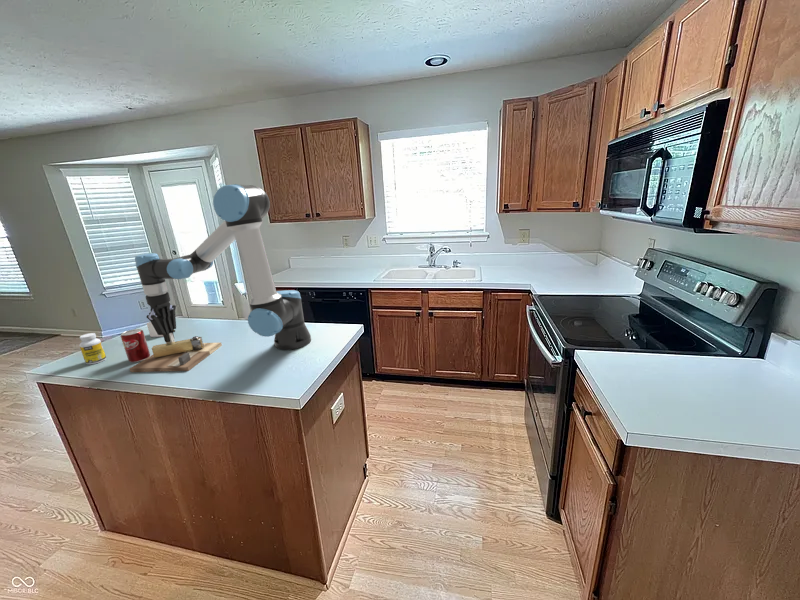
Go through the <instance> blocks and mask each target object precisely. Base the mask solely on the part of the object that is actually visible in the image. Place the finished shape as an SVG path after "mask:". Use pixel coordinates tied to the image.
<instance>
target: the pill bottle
mask: <svg viewBox="0 0 800 600" xmlns="http://www.w3.org/2000/svg"><path fill="white" fill-rule="evenodd" d="M79 339H80V341H81V342H80V343H79V348H80V351H81V353H82V356H83V359H84V362H85V364H86V365H95V364H99V363H103V362H104V361H106V359H107V356H106V353H105V349H104V347H103V343H102V341H101V339H100V338H97V334H96V333H95V332H91V333H84V334H82V335H80V336H79Z"/></svg>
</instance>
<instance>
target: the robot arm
mask: <svg viewBox="0 0 800 600" xmlns="http://www.w3.org/2000/svg"><path fill="white" fill-rule="evenodd" d="M212 206H213V210H214V211H215V214H216V215H217V216H218V217H219V218H220V219H222V220H223V221H222V222H221V223H220V225H219V226H218V227H216V229H215V230H214V231H213V232H212V233H210V234H209V236H207V237H206V238H205V240H203V241H202V243H201V244H200V245H199V246H197V247H196V248H195V249H194V251H193V252H192V253H190V254H186V255H182V256H179V257H174V258H164V259H163V258H160V257H159V254H157V253H155V252H153V253H143V254H137V255H136V256H135V257H134V262H135V268H136V269H137V273H138V277H139V279H140V283H141V285H142V288H143V293H144V295H145V301H146V303H147V305H148V306H150V307H149V308H150V312H151V313H150V312H149V313H150V315H149V314H147V315H146V319H148V320H149V322H151V323H152V325H153V327H154V329H155V330H156V332H157V334H158V335H163V336H162V337H163V339H164V340H163V341H164V342H165V344H166V343H171V342H176V341H175V335H174V333H175V332H176V329H177V321H176V320H177V319H176V307H177V306H176V305H174V304H173V305H172V304H171V303H170V302H171V297H170V293H169V292H168V291H169V289H168V285H167V283H166V280H184V279H185V280H186V279H188V278H190V277H191V276H192V275H193V274H197V273H199V272H203V271H206V270H209V269H210V268H212V266H214V265H213V264H214V261H215V259H217V258H218V257H219V256H220V255H221V254H222V253H223V252H224V251H225V250H227V248H229V247H230V246H231V244H233V243H234V242H236V246H237V250H238V252H239V255H240V259H241V263H242V266H243V269H244V273H245V276H246V281H247V284H248V287H249V291H250V294H251V298H250V301H249V306H250V307H249V308H250V310H251V311H250V312H249V313H248V316H247V323H248V327H250V329H251V330H252V331H253V332H254V333H255V334H258V335H259V336H261V337H273V336H274V337H273V338H274V340H273V344H274V347H275V349H277V350H282V351H283V350H284V351H287V350H289V351H290V350H295V349H300V348H302V347H305V346H306V345H308V344H309V343H310V342H311V341H312V336H311V333H310V331H309V329H308V328H307V325H306V324H305V318H304V310H303V303H302V297H301V293H300V292H299V291H298V290H294V289H293V290H292V289H291V290H289V289H288V290H287V289H285V290H277V289H276V285H275V282H274V278H273V274H272V270H271V267H270V263H269V260H268V255H267V252H266V249H265V247H266V246H265V244H264V243H265V242H264V240H263V236H262V233H261V229H260V228H261V226H262V224H263V222H264V221H263V218H264V217H265V216H266V215H268V212H269V211H270V207H271V202H270V198H269V196H268V194H267V193H266V191H265V190H264V189H262V188H261V187H259V186H257V185H252V184H251V185H249V184H248V185H246V184H237V183H235V184H234V183H233V184H226V185H223V186H220V187H219V188H218V189H217V190H216V191H215V194H214V195H213V199H212Z"/></svg>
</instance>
